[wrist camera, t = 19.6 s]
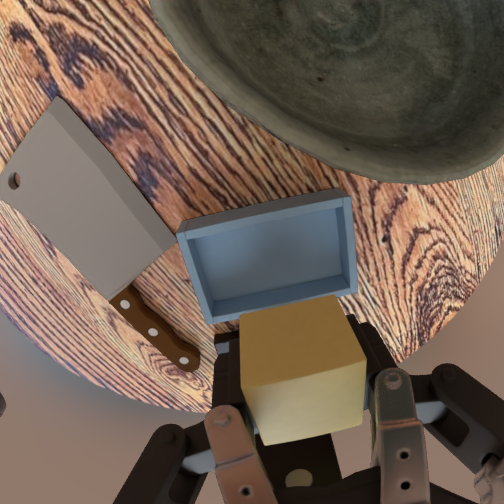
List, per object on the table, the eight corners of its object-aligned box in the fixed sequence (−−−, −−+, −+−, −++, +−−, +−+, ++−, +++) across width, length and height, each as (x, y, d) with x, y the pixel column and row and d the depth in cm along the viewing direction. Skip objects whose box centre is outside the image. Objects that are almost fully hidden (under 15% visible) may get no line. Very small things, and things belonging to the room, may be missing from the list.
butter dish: (209, 306, 24) (206, 325, 22) (181, 221, 21) (175, 233, 19) (347, 276, 24) (358, 292, 21) (338, 187, 21) (351, 195, 18)
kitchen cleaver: (260, 333, 24) (171, 384, 26) (259, 325, 25) (172, 377, 27) (59, 88, 16) (-12, 181, 17) (65, 89, 17) (-5, 179, 18)
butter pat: (258, 377, 14) (264, 446, 10) (238, 313, 12) (240, 387, 9) (339, 360, 14) (362, 424, 10) (334, 292, 12) (367, 359, 9)
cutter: (231, 380, 28) (234, 537, 13) (214, 334, 25) (203, 517, 11) (335, 359, 27) (385, 509, 13) (331, 310, 25) (402, 481, 10)
